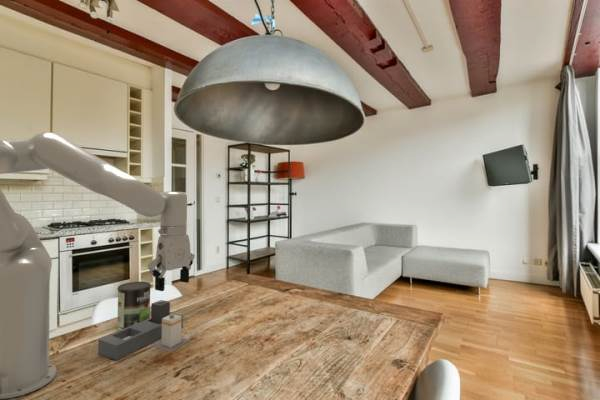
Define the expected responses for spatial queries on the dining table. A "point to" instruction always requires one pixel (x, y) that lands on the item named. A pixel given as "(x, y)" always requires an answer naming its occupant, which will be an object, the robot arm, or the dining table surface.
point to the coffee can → (133, 303)
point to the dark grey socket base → (130, 339)
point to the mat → (172, 346)
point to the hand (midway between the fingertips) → (172, 285)
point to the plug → (171, 330)
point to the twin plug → (159, 311)
